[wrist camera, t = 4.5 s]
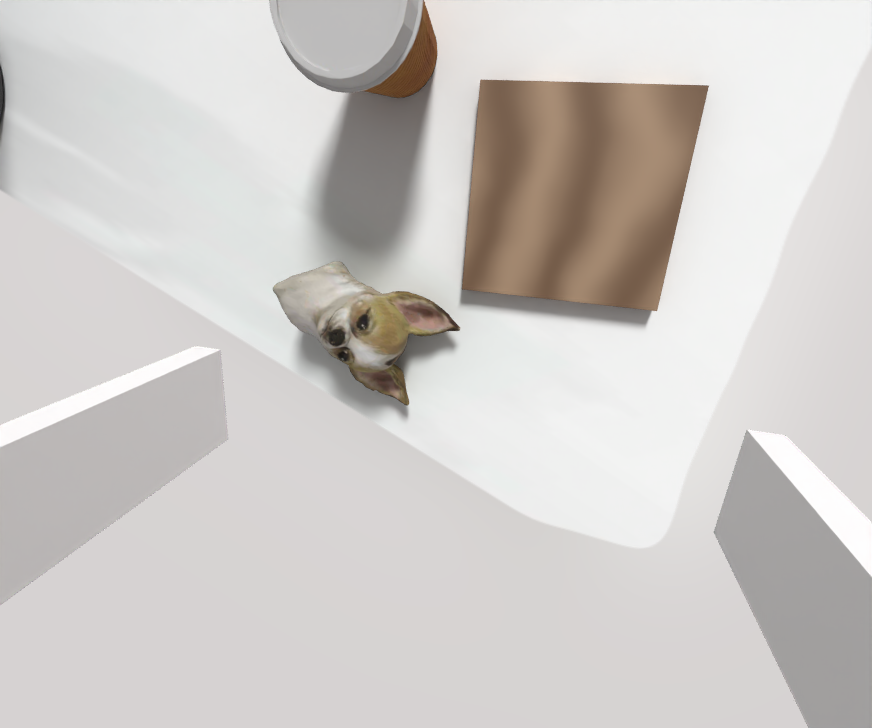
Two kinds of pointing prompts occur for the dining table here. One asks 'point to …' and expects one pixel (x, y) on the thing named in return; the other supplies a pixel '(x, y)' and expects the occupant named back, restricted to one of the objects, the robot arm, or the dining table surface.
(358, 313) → the ceramic sculpture
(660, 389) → the dining table surface
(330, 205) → the dining table surface
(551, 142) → the walnut board
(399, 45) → the disposable coffee cup
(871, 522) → the robot arm
